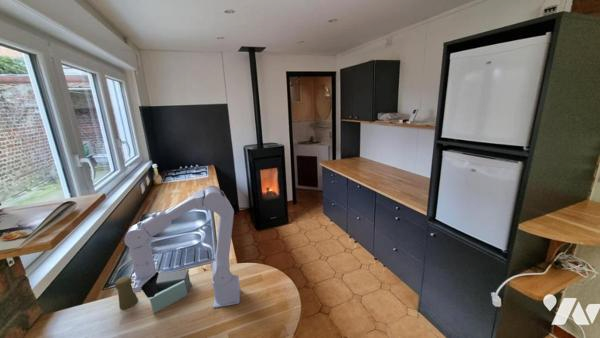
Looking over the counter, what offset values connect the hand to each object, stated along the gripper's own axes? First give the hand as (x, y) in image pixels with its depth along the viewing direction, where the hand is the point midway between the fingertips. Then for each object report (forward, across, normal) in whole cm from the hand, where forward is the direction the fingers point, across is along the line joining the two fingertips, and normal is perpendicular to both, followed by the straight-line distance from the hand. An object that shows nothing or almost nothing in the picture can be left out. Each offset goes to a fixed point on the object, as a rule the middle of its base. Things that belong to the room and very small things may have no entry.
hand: (151, 295), depth 84 cm
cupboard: (+10, -15, 0) cm, 18 cm away
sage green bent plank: (+10, -8, +2) cm, 13 cm away
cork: (+11, -12, -15) cm, 22 cm away
